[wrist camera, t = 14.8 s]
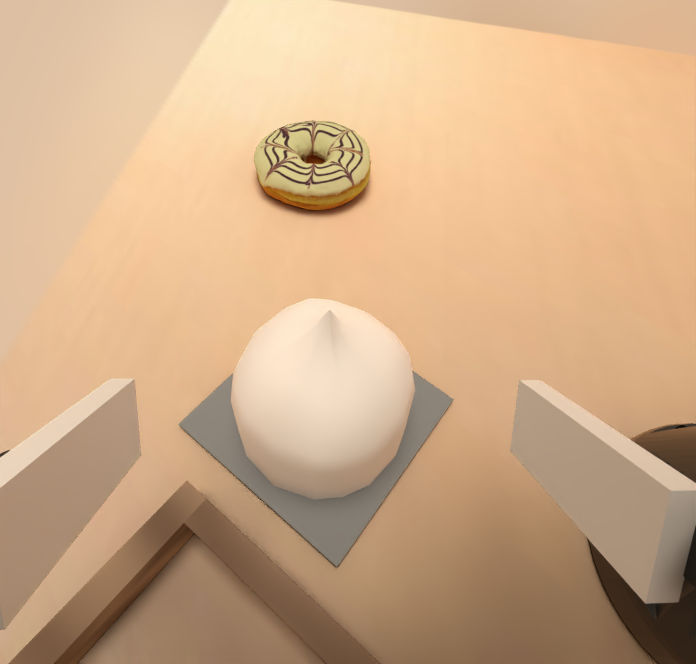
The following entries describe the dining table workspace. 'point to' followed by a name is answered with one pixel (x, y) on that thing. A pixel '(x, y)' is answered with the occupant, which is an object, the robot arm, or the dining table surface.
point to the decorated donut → (313, 164)
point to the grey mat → (299, 511)
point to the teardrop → (322, 398)
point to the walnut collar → (152, 556)
